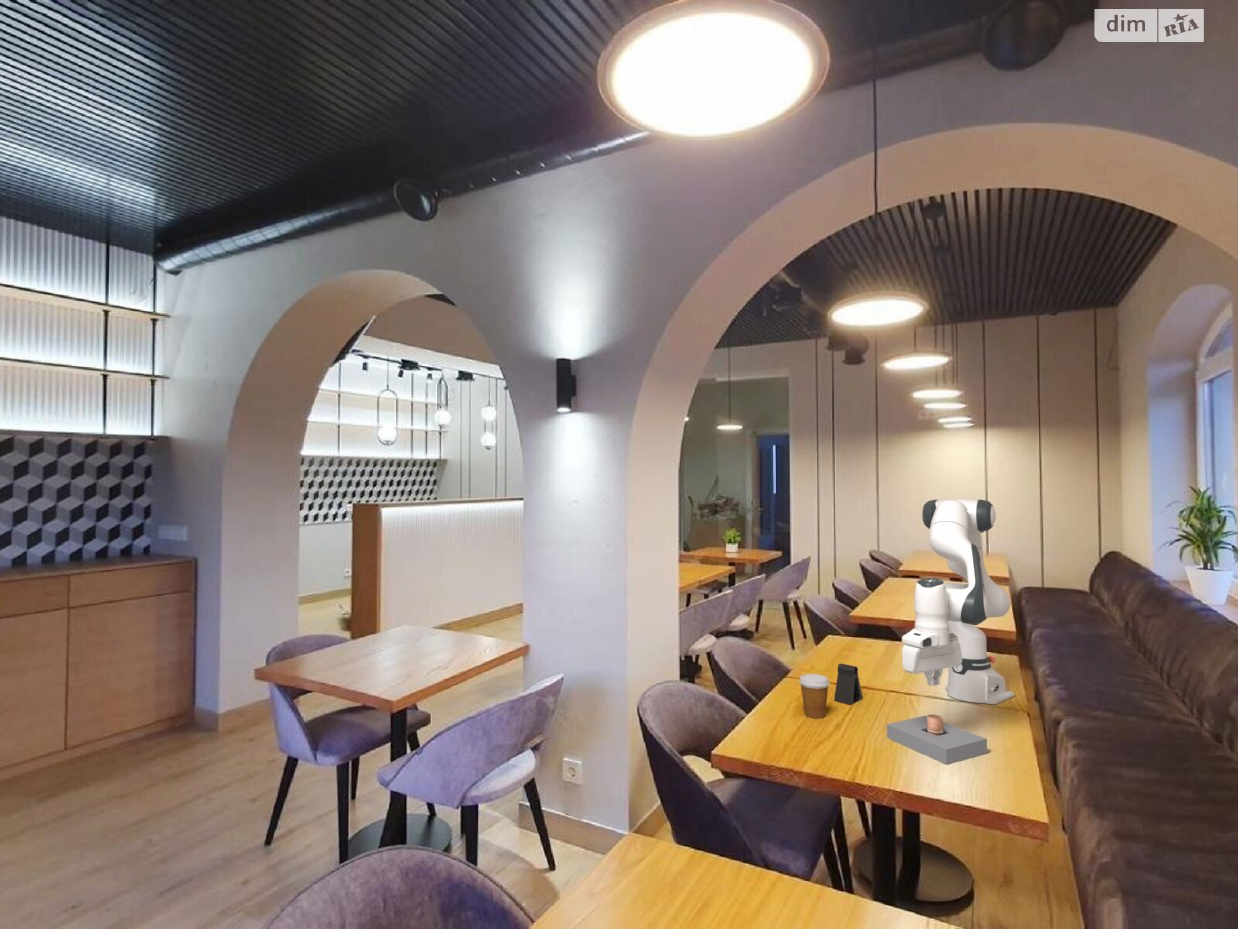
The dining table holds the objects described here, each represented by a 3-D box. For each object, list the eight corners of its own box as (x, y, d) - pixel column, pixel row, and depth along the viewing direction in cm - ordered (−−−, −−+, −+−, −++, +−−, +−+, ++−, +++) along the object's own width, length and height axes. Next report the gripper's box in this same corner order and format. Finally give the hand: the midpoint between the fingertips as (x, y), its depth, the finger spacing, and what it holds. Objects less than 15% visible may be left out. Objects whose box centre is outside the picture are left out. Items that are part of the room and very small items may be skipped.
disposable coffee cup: (826, 722, 201) (825, 684, 201) (796, 717, 206) (795, 679, 206) (833, 713, 209) (832, 676, 209) (804, 708, 214) (803, 672, 214)
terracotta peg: (934, 741, 185) (933, 713, 185) (947, 746, 181) (946, 718, 181) (924, 744, 183) (923, 716, 183) (936, 749, 179) (935, 720, 179)
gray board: (926, 728, 194) (925, 715, 194) (987, 753, 176) (986, 738, 176) (887, 738, 188) (886, 724, 188) (946, 764, 169) (946, 749, 170)
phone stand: (850, 705, 215) (849, 669, 216) (834, 701, 220) (833, 666, 220) (863, 699, 222) (862, 664, 222) (846, 695, 226) (845, 661, 226)
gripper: (947, 630, 190) (949, 677, 189) (897, 637, 182) (898, 686, 181) (967, 634, 184) (968, 682, 184) (915, 642, 176) (917, 693, 175)
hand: (933, 685), depth 182 cm, fingers closed
